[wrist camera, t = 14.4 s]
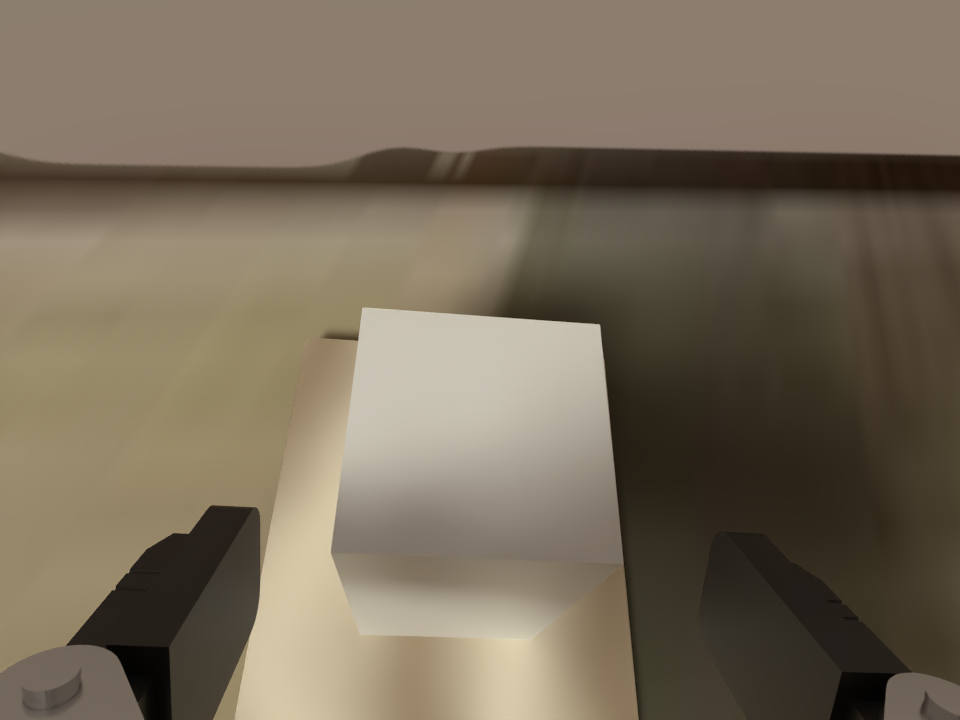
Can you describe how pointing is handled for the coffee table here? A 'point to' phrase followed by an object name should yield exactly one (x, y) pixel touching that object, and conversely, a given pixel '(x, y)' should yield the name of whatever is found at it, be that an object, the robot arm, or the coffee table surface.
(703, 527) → the coffee table surface
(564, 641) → the stub plate
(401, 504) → the block
